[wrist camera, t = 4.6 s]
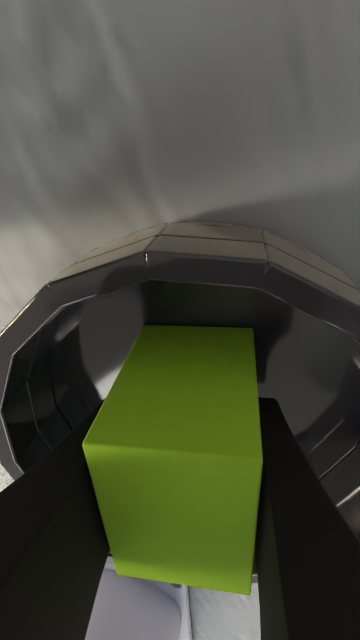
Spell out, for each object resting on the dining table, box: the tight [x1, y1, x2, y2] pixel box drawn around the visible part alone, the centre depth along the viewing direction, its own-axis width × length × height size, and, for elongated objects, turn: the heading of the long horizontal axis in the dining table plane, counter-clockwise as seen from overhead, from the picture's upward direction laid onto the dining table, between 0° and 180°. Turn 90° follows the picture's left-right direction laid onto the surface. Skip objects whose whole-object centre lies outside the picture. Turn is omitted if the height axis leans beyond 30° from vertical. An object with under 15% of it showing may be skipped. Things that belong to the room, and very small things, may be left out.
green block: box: [82, 325, 263, 595], centre depth 9 cm, size 4×3×4 cm
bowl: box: [0, 222, 360, 583], centre depth 10 cm, size 12×12×3 cm
